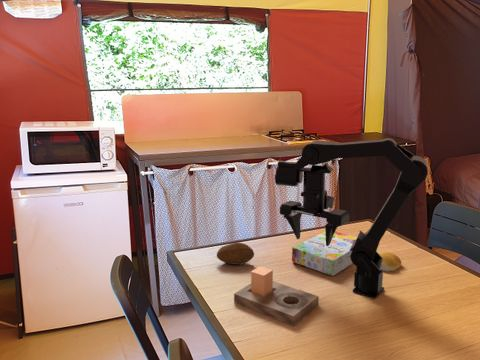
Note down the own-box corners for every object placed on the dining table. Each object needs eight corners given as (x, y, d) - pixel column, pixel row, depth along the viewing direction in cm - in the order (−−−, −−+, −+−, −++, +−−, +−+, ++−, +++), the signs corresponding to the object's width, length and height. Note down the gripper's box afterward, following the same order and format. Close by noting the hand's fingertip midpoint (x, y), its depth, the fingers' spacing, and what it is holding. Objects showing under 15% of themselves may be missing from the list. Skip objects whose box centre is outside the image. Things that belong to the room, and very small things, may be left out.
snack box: (291, 263, 140) (333, 277, 130) (291, 246, 139) (333, 259, 129) (328, 244, 155) (368, 254, 145) (328, 228, 154) (369, 238, 144)
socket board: (318, 305, 115) (318, 296, 114) (293, 325, 106) (293, 316, 105) (261, 285, 126) (261, 277, 125) (234, 302, 117) (234, 293, 116)
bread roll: (404, 265, 138) (405, 252, 137) (391, 274, 132) (392, 262, 131) (379, 257, 144) (380, 246, 143) (366, 266, 137) (366, 254, 136)
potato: (216, 260, 143) (215, 239, 141) (252, 258, 144) (252, 237, 142) (217, 269, 136) (216, 247, 135) (255, 267, 138) (255, 245, 136)
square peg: (272, 298, 119) (272, 270, 117) (263, 304, 116) (263, 275, 114) (260, 293, 121) (260, 266, 119) (251, 299, 118) (251, 271, 116)
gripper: (358, 186, 122) (356, 240, 126) (299, 177, 133) (298, 227, 137) (341, 195, 113) (339, 253, 117) (278, 185, 124) (278, 238, 128)
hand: (312, 242), depth 125 cm, fingers open, 9 cm apart
